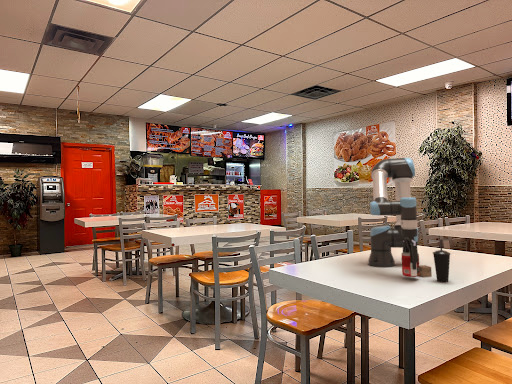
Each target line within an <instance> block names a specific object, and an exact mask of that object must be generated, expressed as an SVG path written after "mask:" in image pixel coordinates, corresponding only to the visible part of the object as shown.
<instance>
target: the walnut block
mask: <svg viewBox="0 0 512 384" xmlns="http://www.w3.org/2000/svg"><path fill="white" fill-rule="evenodd" d="M419 272H420V274H419V276H418V277H421V278H431V277H432V273H433V272H432V266H430V265H427V264H423V265H422V264H421V265H420V264H419Z"/></svg>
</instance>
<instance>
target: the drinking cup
mask: <svg viewBox="0 0 512 384" xmlns="http://www.w3.org/2000/svg"><path fill="white" fill-rule="evenodd" d="M439 242H440V243H439V245H440V246H439V247H440V249H437V250H435V251H432V256H433V261H434V262H433V263H434V268H435V275H436V281H437V282H438V283H449V276H450V275H449V274H450V259H451V252H449V251H447V250H444V249H443V240H442V239H440V240H439Z"/></svg>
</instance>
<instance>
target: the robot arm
mask: <svg viewBox="0 0 512 384" xmlns="http://www.w3.org/2000/svg"><path fill="white" fill-rule="evenodd" d="M370 177H371V180H372V189H373V194H372V195H373V201H370V203H369V210H370V215H372V216H396V217H395V218H396V222H395V223H394V225H393V227H391V226H390V225H380V226H375V227H372V228H371V229H370V235H369V236H370V254H369V257H368V262H367V263H368V265H369V266H371V265H372V266H371V267H379V268H390V267H394V266H395V265H396V262H395V258H394V256H393V254H392V248H397V249H398V248H399V249H402V253H403V252H405V253H409V252H410V258H411V261H410V267H411V276H417V262H419V263H420V260H419V261H418V254H419V252H418V240H419V228H418V214H417V213H418V211H417V208H418V207H417V205H418V204H417V198H416V197H413V196H412V194H411V182H412V181H413V179H414V177H416V168H415V164H414V160H413V158H411V157H397V158H384V159H382V160H379V161H378V162H377V163H375V165H374V166H373V167H372V169H371V171H370ZM388 178H389V179H391V181H392V182H393V183H394V191H395V193H394V195H395V200H394V201H393V200H389V199H388V197H389V195H388V186H387V185H388V182H387V179H388Z"/></svg>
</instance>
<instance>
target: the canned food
mask: <svg viewBox="0 0 512 384" xmlns="http://www.w3.org/2000/svg"><path fill="white" fill-rule="evenodd" d="M410 261H411V258H410V252H409V253H405V252H403V251H402V252H401V272H402V275H403V276H404V277H408V278H417V277H420V276H419V274H420V272H419V266H420V255H419V253H418V261H419V262H417V276H411V267H410Z"/></svg>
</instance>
